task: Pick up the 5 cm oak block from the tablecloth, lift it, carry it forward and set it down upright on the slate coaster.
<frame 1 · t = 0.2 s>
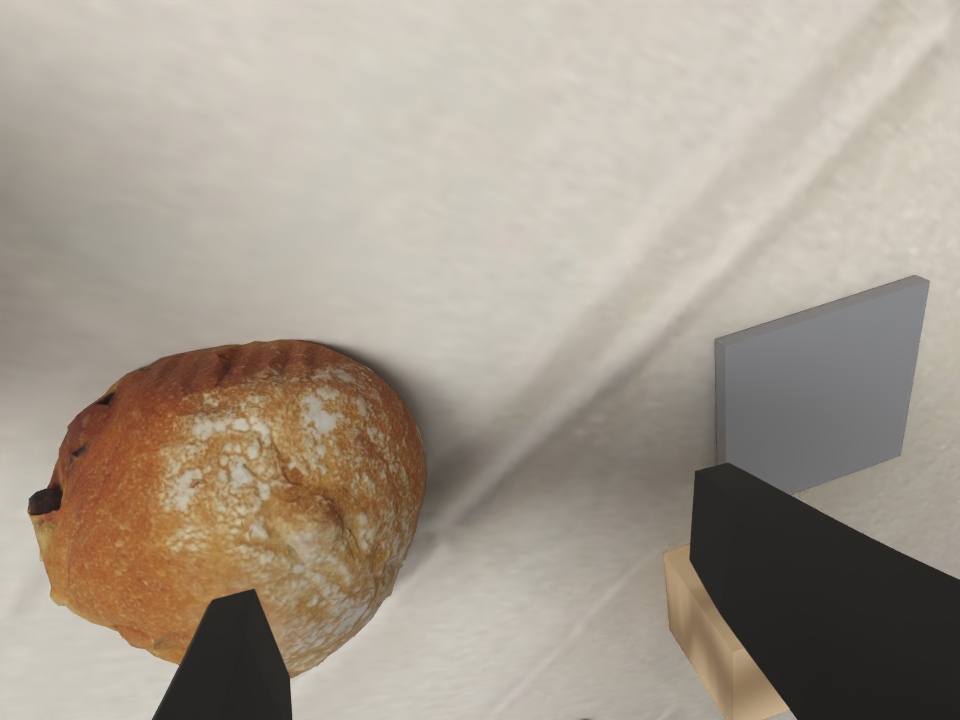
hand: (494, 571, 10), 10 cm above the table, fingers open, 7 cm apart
slate coaster: (810, 398, 25), on the table
bread roll: (249, 467, 20), on the table
oak block: (717, 572, 28), on the table
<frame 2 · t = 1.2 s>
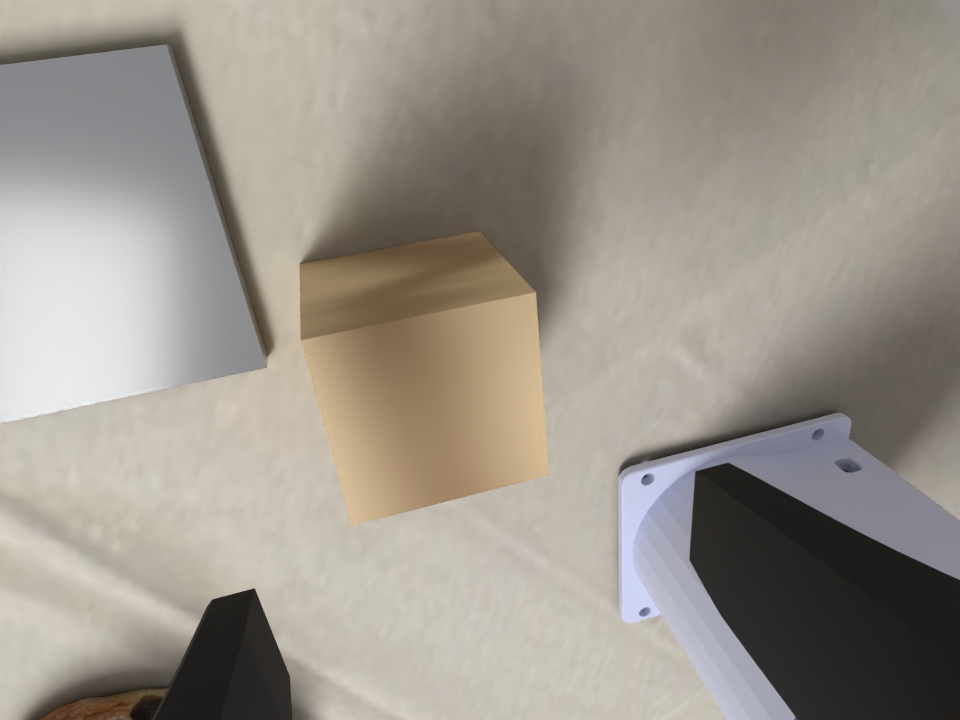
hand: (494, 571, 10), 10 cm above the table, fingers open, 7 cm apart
slate coaster: (54, 248, 15), on the table
oak block: (406, 327, 19), on the table
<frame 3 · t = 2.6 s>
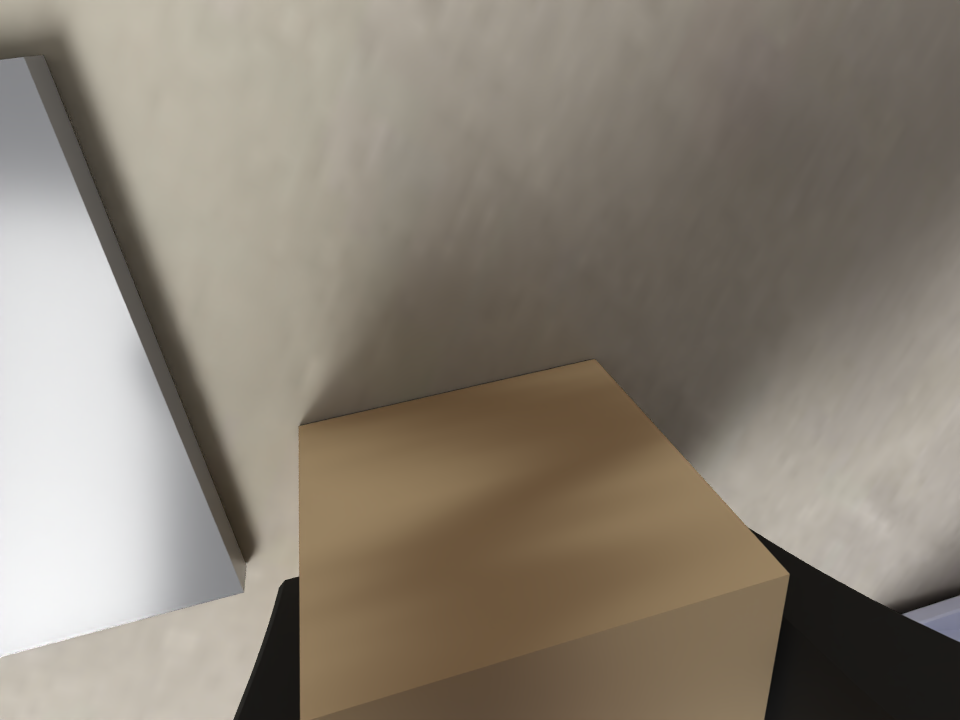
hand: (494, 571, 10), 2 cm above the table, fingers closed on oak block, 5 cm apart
oak block: (470, 506, 12), on the table, touching gripper
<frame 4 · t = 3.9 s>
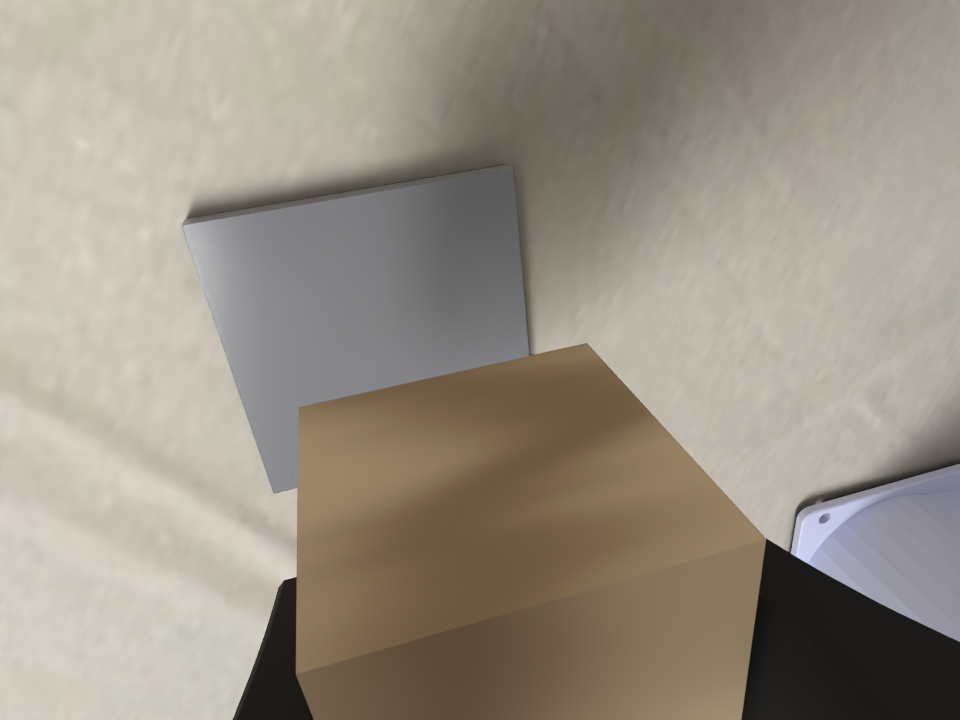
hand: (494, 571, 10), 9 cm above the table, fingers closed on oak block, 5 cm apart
slate coaster: (382, 334, 18), on the table
oak block: (466, 488, 12), point 7 cm above the table, touching gripper
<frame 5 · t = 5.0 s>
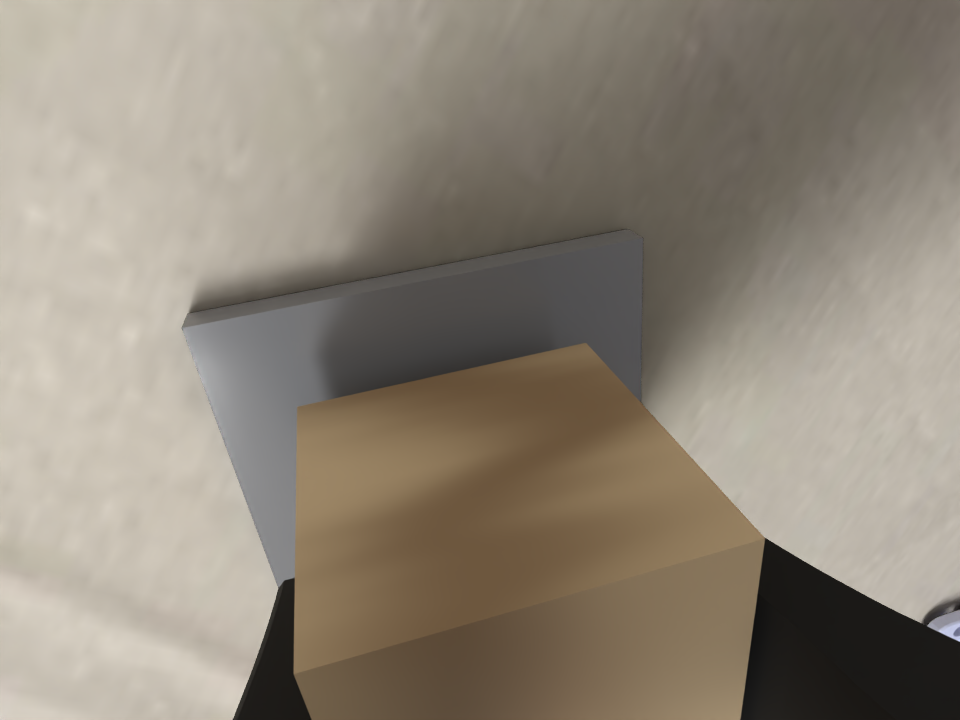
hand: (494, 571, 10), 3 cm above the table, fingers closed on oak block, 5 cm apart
slate coaster: (450, 449, 13), on the table
oak block: (465, 488, 12), point 1 cm above the table, touching gripper
when the fingers open (3 cm above the table, at t = 5.6 s): oak block stays where it is, resting on slate coaster.
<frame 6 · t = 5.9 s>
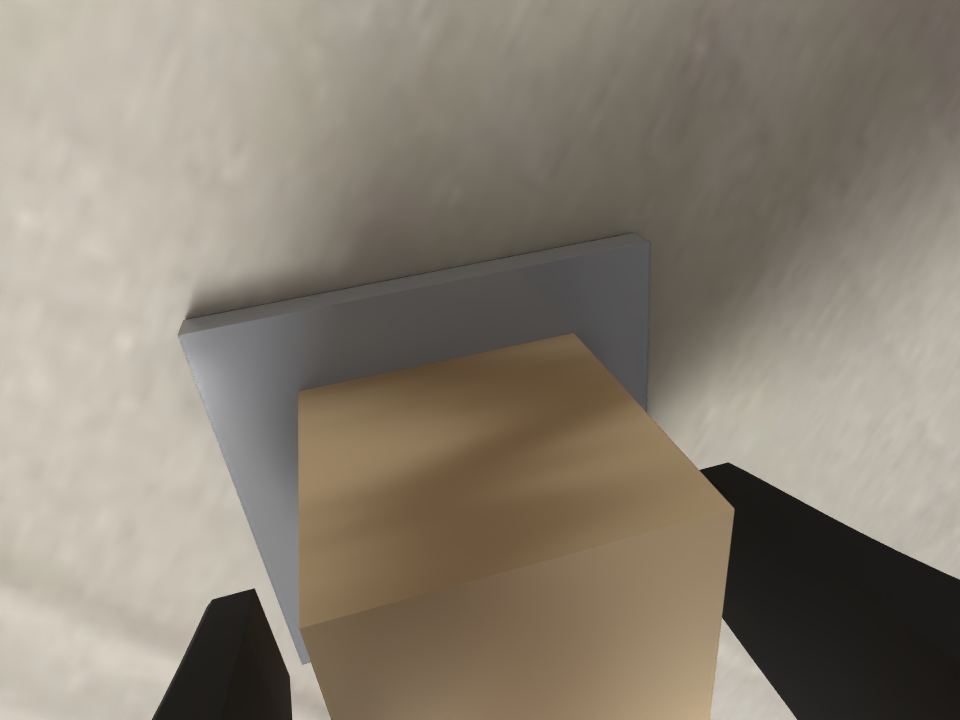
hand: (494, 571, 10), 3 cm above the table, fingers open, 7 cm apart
slate coaster: (452, 457, 13), on the table
oak block: (457, 472, 13), point 1 cm above the table, touching slate coaster
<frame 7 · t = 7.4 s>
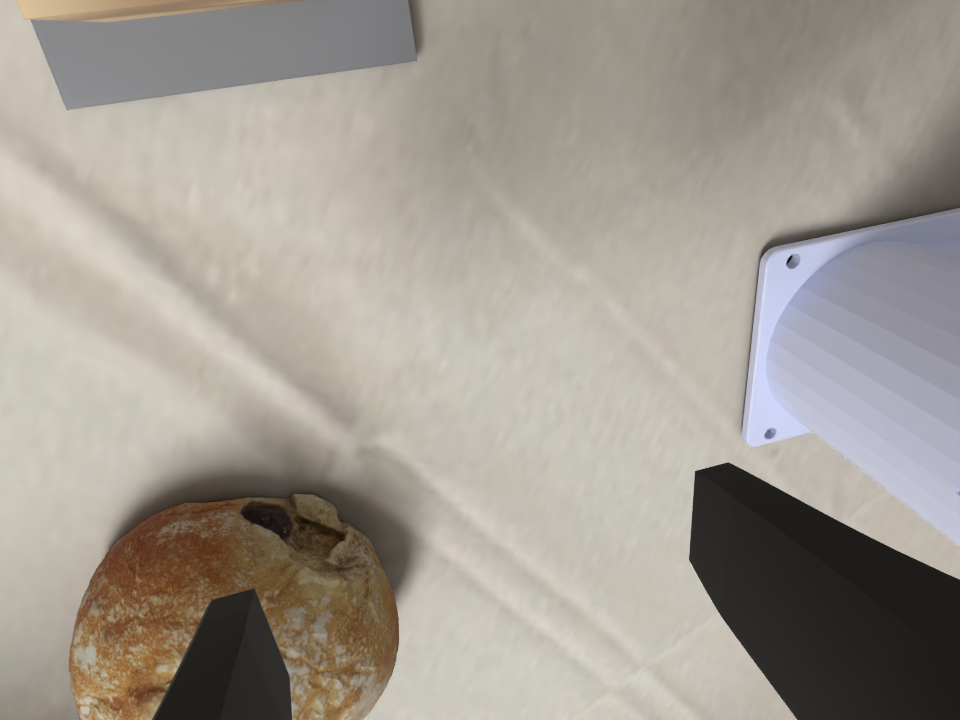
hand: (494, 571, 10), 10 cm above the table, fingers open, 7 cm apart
bread roll: (251, 596, 23), on the table
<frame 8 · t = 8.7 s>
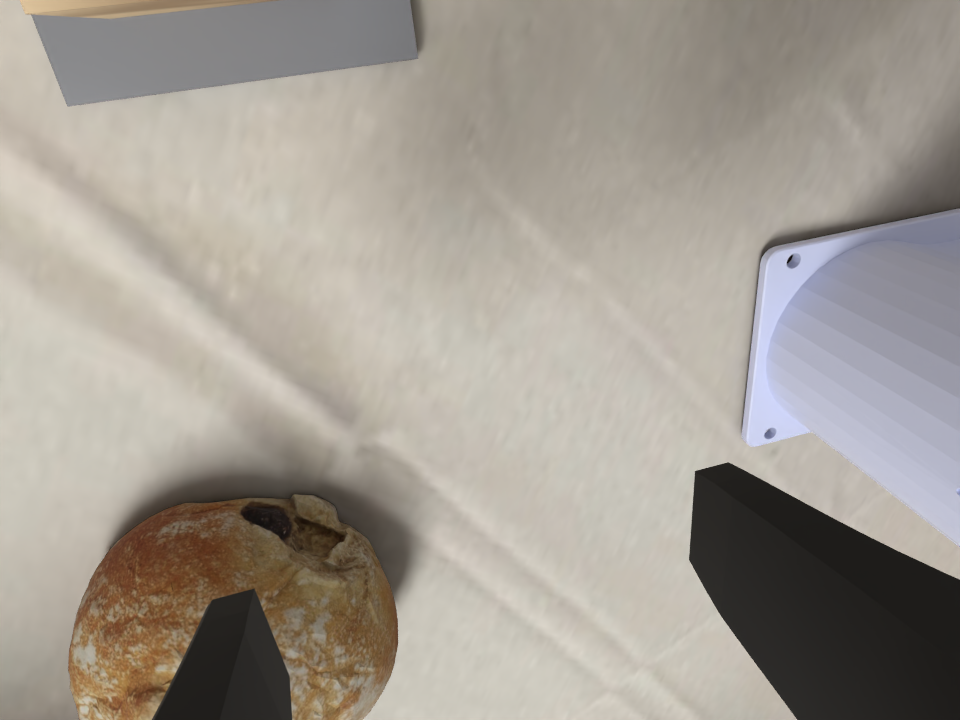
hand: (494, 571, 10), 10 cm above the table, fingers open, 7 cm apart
bread roll: (250, 597, 23), on the table
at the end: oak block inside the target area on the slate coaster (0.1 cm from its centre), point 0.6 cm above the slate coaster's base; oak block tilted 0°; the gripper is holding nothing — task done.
